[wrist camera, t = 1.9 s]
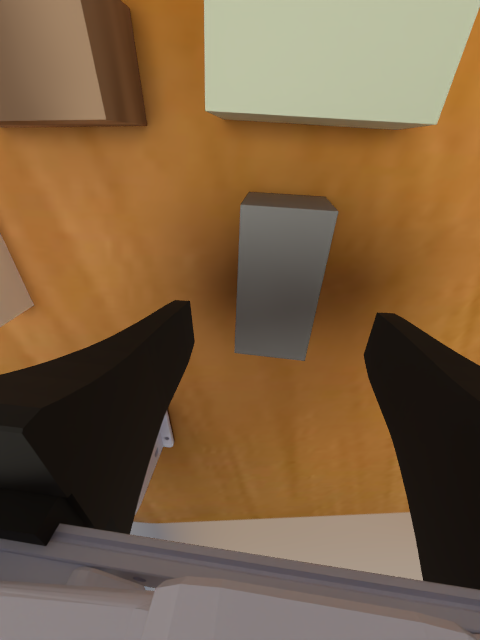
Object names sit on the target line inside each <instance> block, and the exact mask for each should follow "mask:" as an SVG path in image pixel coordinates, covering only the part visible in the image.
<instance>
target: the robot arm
mask: <svg viewBox="0 0 480 640" xmlns="http://www.w3.org/2000/svg"><path fill="white" fill-rule="evenodd" d="M194 342H195V341H194V333H193V324H192V315H191V307H190V301H180V300H175V301H173V302H171V303H169V304H167V305H165V306H164V307H162V308H160V309H159V310H157V311H156V312H154V313H152V314H151V315H149V316H147V317H146V318H144V319H142V320H141V321H139V322H137V323H135V324H134V325H132V326H130V327H128V328H126V329H124V330H123V331H121V332H119V333H117V334H115V335H113V336H111V337H109V338H107V339H105V340H103V341H101V342H98V343H96V344H94V345H91V346H89V347H87V348H84V349H82V350H79V351H76V352H73V353H71V354H68V355H65V356H63V357H60V358H57V359H54V360H51V361H48V362H45V363H42V364H38V365H35V366H32V367H28V368H25V369H21V370H17V371H14V372H10V373H6V374H2V375H0V640H480V366H479V365H477V364H475V363H474V362H472V361H470V360H469V359H467V358H465V357H463V356H462V355H460V354H458V353H457V352H455V351H453V350H452V349H450V348H448V347H447V346H445V345H444V344H442V343H441V342H439V341H437V340H436V339H434V338H433V337H431V336H430V335H428V334H427V333H425V332H424V331H422V330H421V329H419V328H418V327H416V326H414V325H413V324H411V323H410V322H408V321H407V320H405V319H403V318H402V317H400V316H398V315H396V314H393V313H377V314H376V317H375V321H374V324H373V327H372V330H371V333H370V336H369V340H368V343H367V346H366V349H365V352H364V359H365V364H366V369H367V373H368V377H369V380H370V383H371V385H372V388H373V391H374V393H375V396H376V399H377V401H378V404H379V406H380V409H381V411H382V414H383V416H384V419H385V421H386V424H387V427H388V429H389V432H390V435H391V438H392V441H393V444H394V448H395V451H396V455H397V459H398V463H399V466H400V470H401V474H402V478H403V483H404V487H405V491H406V495H407V499H408V504H409V509H410V513H411V518H412V522H413V528H414V532H415V537H416V542H417V548H418V553H419V559H420V565H421V571H422V576H423V581H420V580H414V579H407V578H401V577H395V576H388V575H382V574H375V573H369V572H363V571H357V570H351V569H344V568H338V567H332V566H325V565H319V564H313V563H306V562H300V561H294V560H287V559H281V558H275V557H268V556H262V555H255V554H249V553H243V552H237V551H231V550H224V549H218V548H212V547H205V546H199V545H193V544H186V543H180V542H174V541H167V540H161V539H155V538H148V537H142V536H136V535H130V531H131V527H132V523H133V520H134V516H135V514H136V513H137V511H138V509H139V507H140V505H141V503H142V500H143V498H144V495H145V492H146V490H147V487H148V485H149V482H150V479H151V477H152V474H153V472H154V469H155V467H156V464H157V461H158V459H159V456H160V454H161V451H162V449H163V447H172V446H173V445H174V439H173V434H172V430H171V425H170V421H169V416H168V411H167V409H168V406H169V404H170V402H171V400H172V398H173V396H174V393H175V391H176V389H177V387H178V385H179V383H180V380H181V378H182V376H183V374H184V372H185V369H186V367H187V365H188V362H189V359H190V356H191V353H192V349H193V346H194ZM144 586H147V587H153V588H156V589H155V591H147V590H145V588H144Z"/></svg>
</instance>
